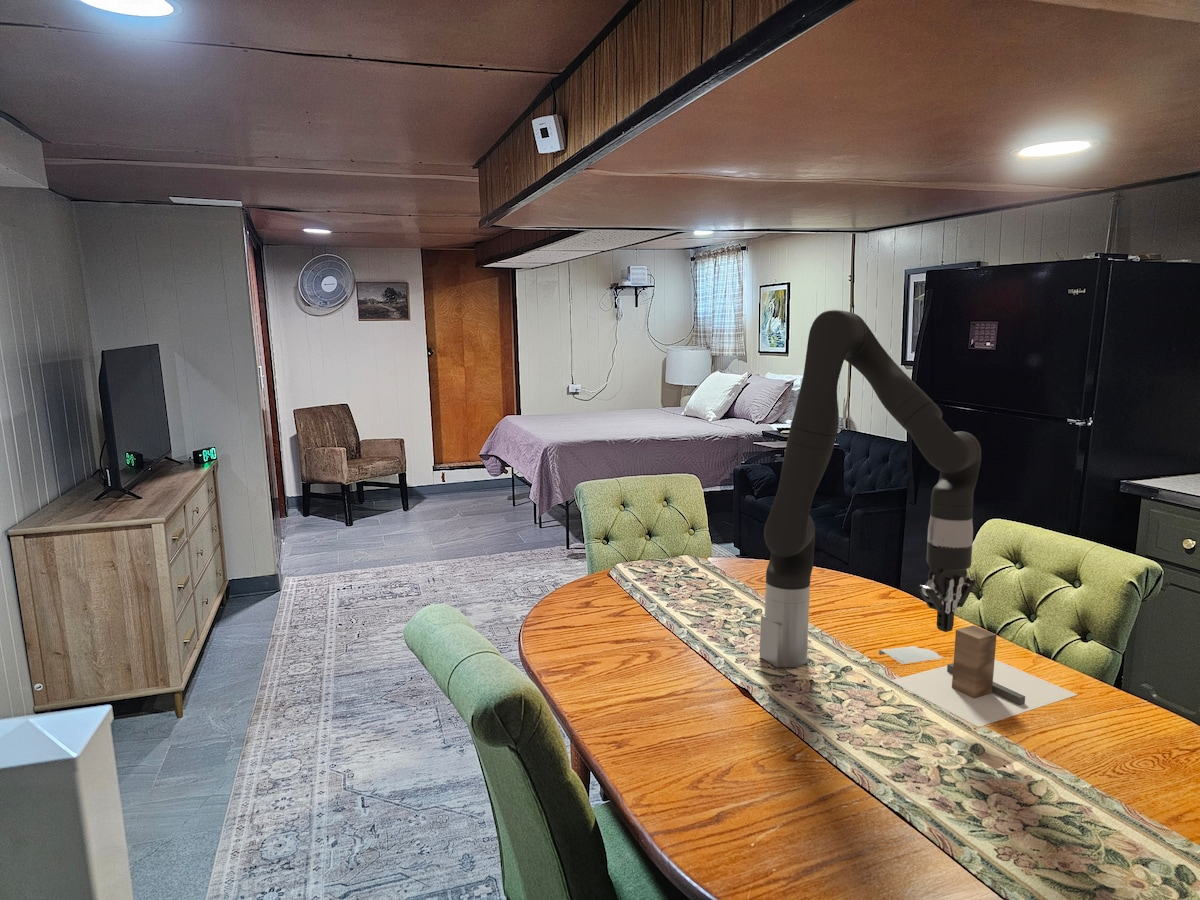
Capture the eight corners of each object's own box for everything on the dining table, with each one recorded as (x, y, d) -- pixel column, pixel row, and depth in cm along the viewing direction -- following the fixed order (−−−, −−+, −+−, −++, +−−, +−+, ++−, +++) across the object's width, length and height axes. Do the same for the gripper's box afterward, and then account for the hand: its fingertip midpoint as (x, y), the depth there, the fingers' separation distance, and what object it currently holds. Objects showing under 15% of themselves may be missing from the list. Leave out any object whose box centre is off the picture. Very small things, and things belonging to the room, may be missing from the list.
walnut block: (974, 698, 141) (978, 638, 139) (951, 687, 146) (955, 629, 144) (991, 693, 143) (996, 634, 142) (969, 682, 148) (973, 625, 146)
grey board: (977, 732, 131) (978, 718, 131) (890, 685, 149) (890, 673, 149) (1077, 699, 143) (1078, 687, 143) (984, 659, 161) (985, 648, 160)
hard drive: (903, 664, 156) (952, 658, 159) (879, 649, 164) (927, 643, 167) (902, 672, 156) (952, 665, 159) (878, 656, 164) (926, 650, 167)
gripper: (957, 531, 142) (952, 617, 145) (907, 540, 137) (903, 629, 139) (992, 540, 136) (986, 630, 138) (941, 550, 130) (936, 643, 133)
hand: (944, 630), depth 139 cm, fingers closed
